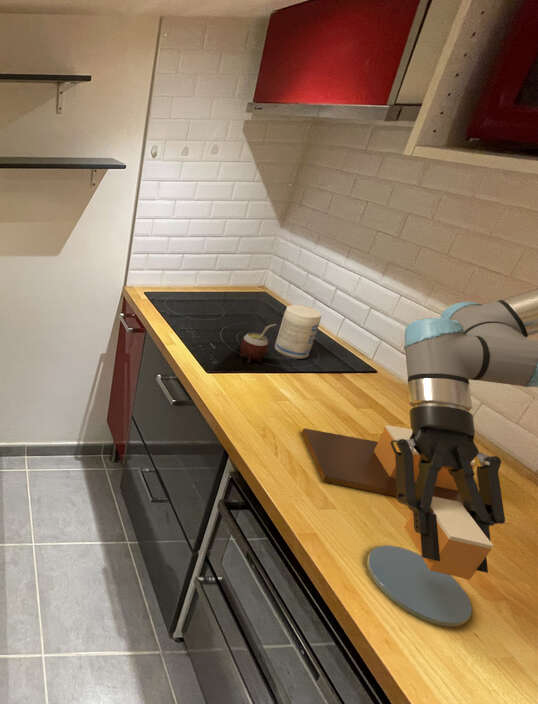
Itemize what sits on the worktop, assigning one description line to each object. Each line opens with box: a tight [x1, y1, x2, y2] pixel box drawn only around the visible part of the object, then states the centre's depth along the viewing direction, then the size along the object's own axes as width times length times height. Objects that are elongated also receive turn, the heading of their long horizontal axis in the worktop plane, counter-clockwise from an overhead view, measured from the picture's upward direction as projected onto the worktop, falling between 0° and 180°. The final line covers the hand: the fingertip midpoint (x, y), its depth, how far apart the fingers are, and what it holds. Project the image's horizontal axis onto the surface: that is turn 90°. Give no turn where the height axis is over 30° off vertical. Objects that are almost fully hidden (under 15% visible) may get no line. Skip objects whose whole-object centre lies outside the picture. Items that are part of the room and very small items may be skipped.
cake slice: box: [404, 497, 494, 581], centre depth 69 cm, size 5×8×8 cm, turn 163°
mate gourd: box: [239, 323, 278, 364], centre depth 135 cm, size 8×8×15 cm
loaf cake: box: [374, 424, 476, 491], centre depth 94 cm, size 12×8×8 cm, turn 73°
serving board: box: [301, 427, 465, 508], centre depth 97 cm, size 26×16×2 cm, turn 73°
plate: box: [366, 545, 473, 628], centre depth 73 cm, size 13×13×1 cm
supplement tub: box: [274, 304, 322, 360], centre depth 140 cm, size 10×10×15 cm
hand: (454, 564), depth 66 cm, fingers closed on cake slice, 5 cm apart
